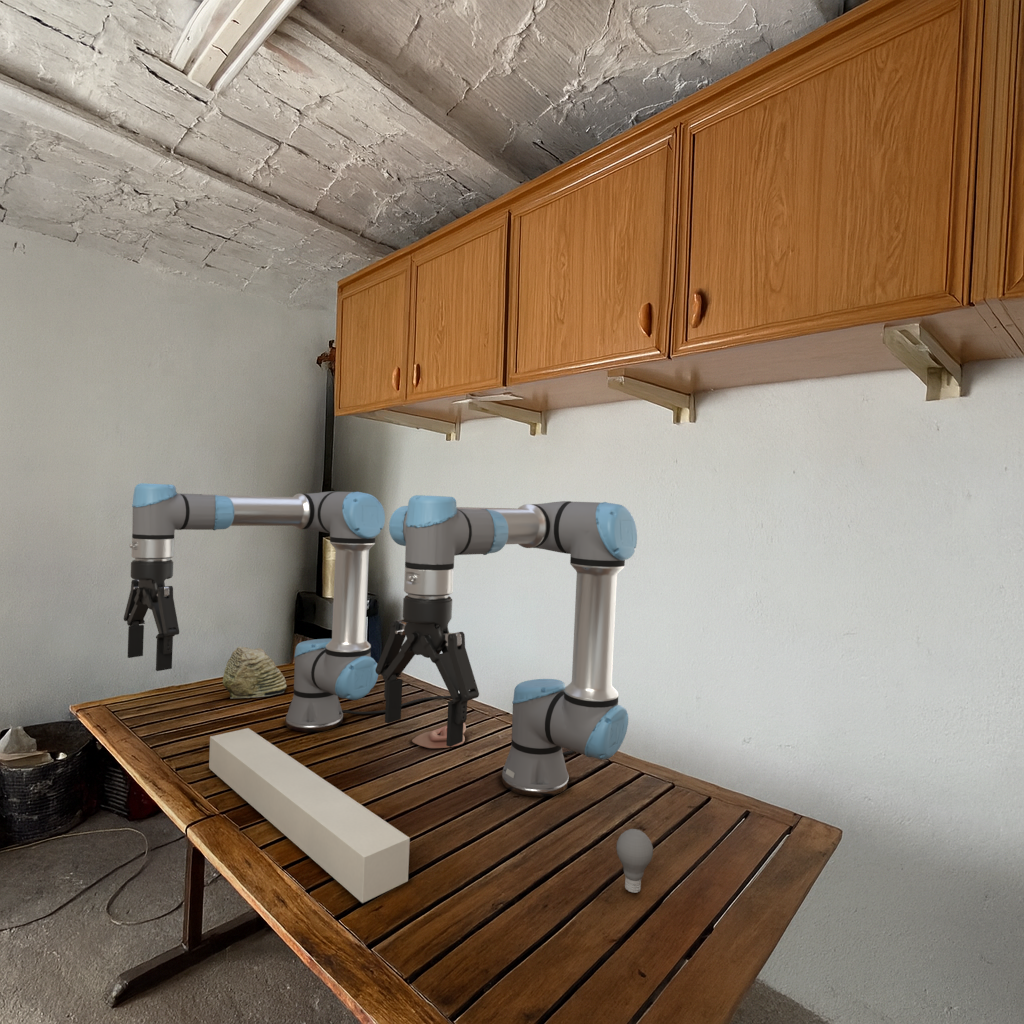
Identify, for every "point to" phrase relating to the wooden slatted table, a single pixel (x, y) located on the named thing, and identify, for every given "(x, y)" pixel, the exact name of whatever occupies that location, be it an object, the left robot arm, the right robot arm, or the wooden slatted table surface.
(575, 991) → the wooden slatted table surface
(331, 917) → the wooden slatted table surface
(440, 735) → the anatomical model
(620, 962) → the wooden slatted table surface
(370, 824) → the long square beam
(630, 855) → the light bulb
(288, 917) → the wooden slatted table surface
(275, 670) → the fossil
